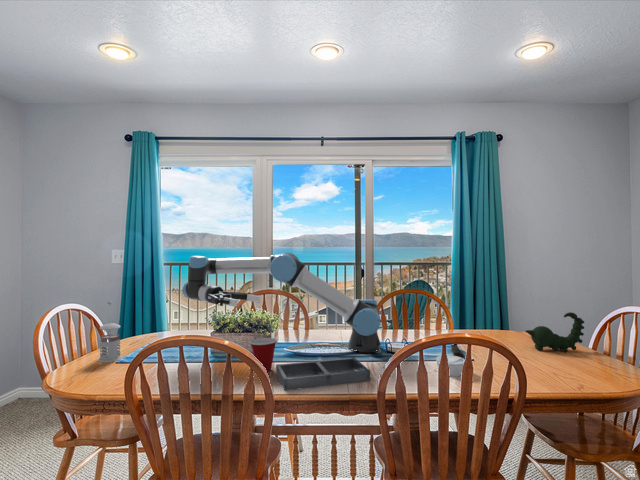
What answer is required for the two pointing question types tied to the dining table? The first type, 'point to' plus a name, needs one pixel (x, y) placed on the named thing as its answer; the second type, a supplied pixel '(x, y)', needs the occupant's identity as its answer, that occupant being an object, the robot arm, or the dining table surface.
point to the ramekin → (453, 364)
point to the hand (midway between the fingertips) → (248, 301)
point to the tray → (321, 373)
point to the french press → (110, 343)
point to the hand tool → (456, 351)
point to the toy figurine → (557, 336)
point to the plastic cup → (264, 351)
